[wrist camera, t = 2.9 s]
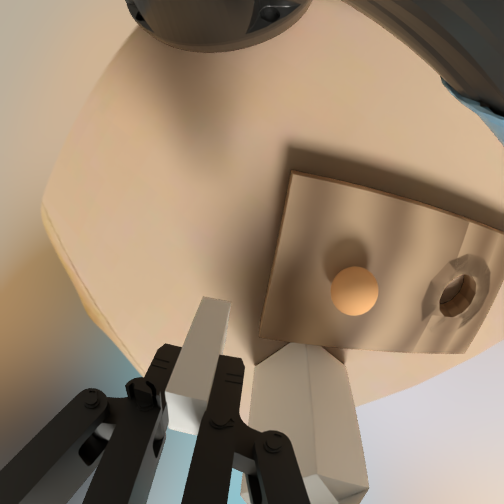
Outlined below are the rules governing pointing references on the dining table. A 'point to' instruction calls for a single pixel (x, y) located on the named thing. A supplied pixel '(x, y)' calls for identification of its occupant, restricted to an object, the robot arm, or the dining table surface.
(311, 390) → the milk carton
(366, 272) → the ball
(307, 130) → the dining table surface
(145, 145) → the dining table surface
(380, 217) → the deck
